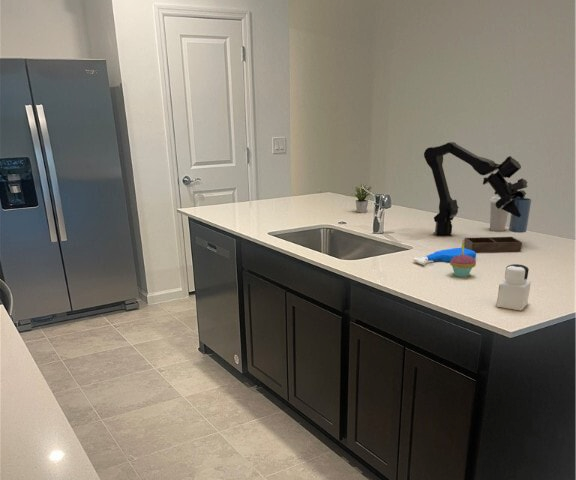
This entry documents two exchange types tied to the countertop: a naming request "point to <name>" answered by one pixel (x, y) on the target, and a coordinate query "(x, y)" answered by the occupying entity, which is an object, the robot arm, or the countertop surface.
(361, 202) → the house plant
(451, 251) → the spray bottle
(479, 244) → the wooden divided tray
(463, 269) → the cupcake
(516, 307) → the medicine bottle
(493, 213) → the coffee cup
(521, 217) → the tumbler
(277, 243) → the countertop surface
